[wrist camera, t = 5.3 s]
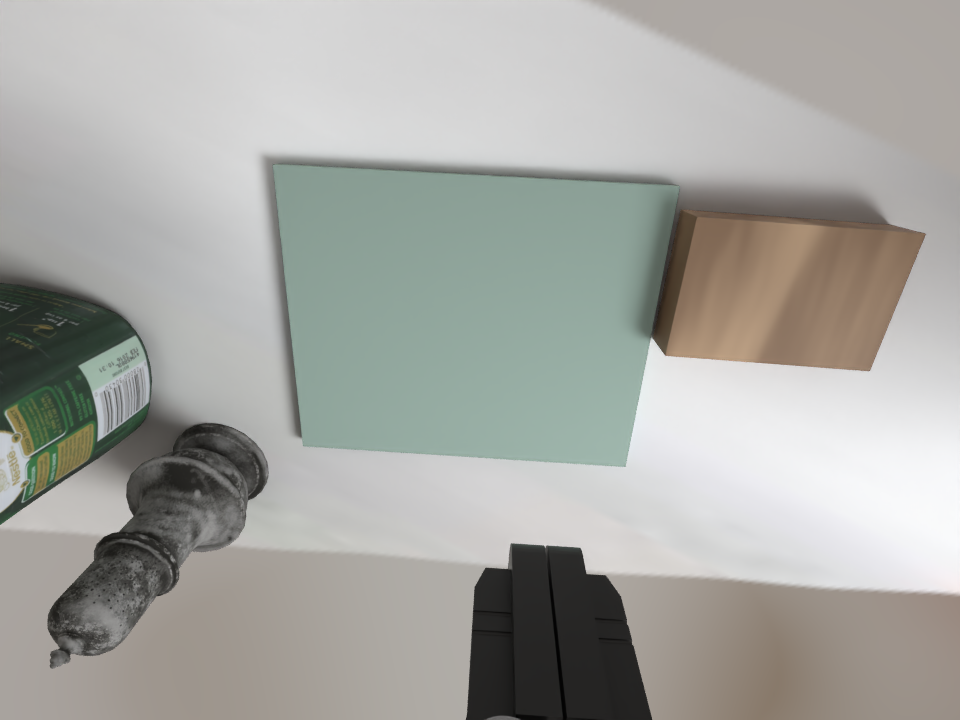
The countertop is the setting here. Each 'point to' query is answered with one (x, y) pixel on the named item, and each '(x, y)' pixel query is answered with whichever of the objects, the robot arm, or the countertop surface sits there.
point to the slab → (782, 289)
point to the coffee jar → (62, 389)
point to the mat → (470, 310)
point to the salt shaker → (159, 536)
